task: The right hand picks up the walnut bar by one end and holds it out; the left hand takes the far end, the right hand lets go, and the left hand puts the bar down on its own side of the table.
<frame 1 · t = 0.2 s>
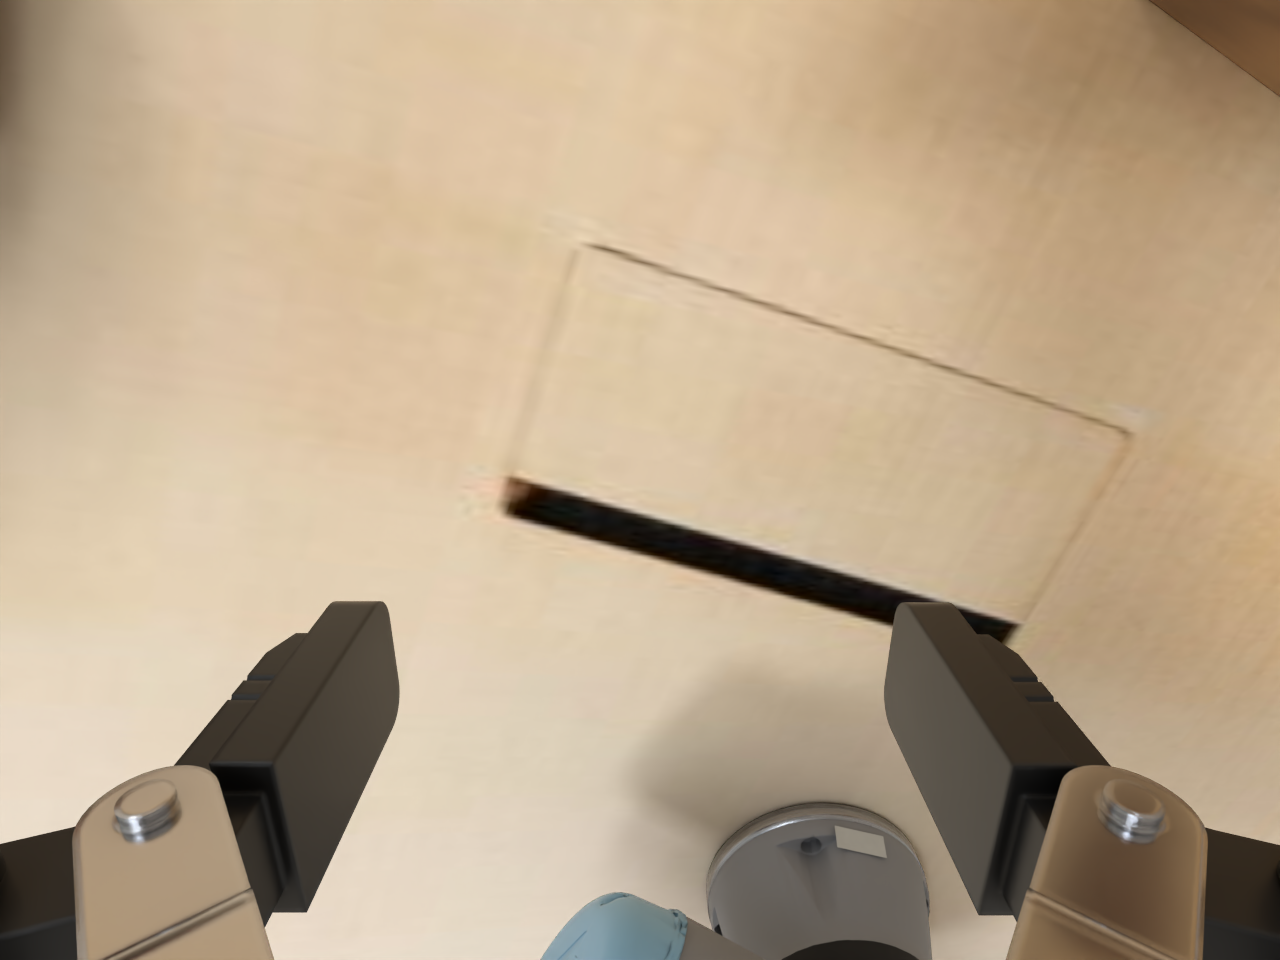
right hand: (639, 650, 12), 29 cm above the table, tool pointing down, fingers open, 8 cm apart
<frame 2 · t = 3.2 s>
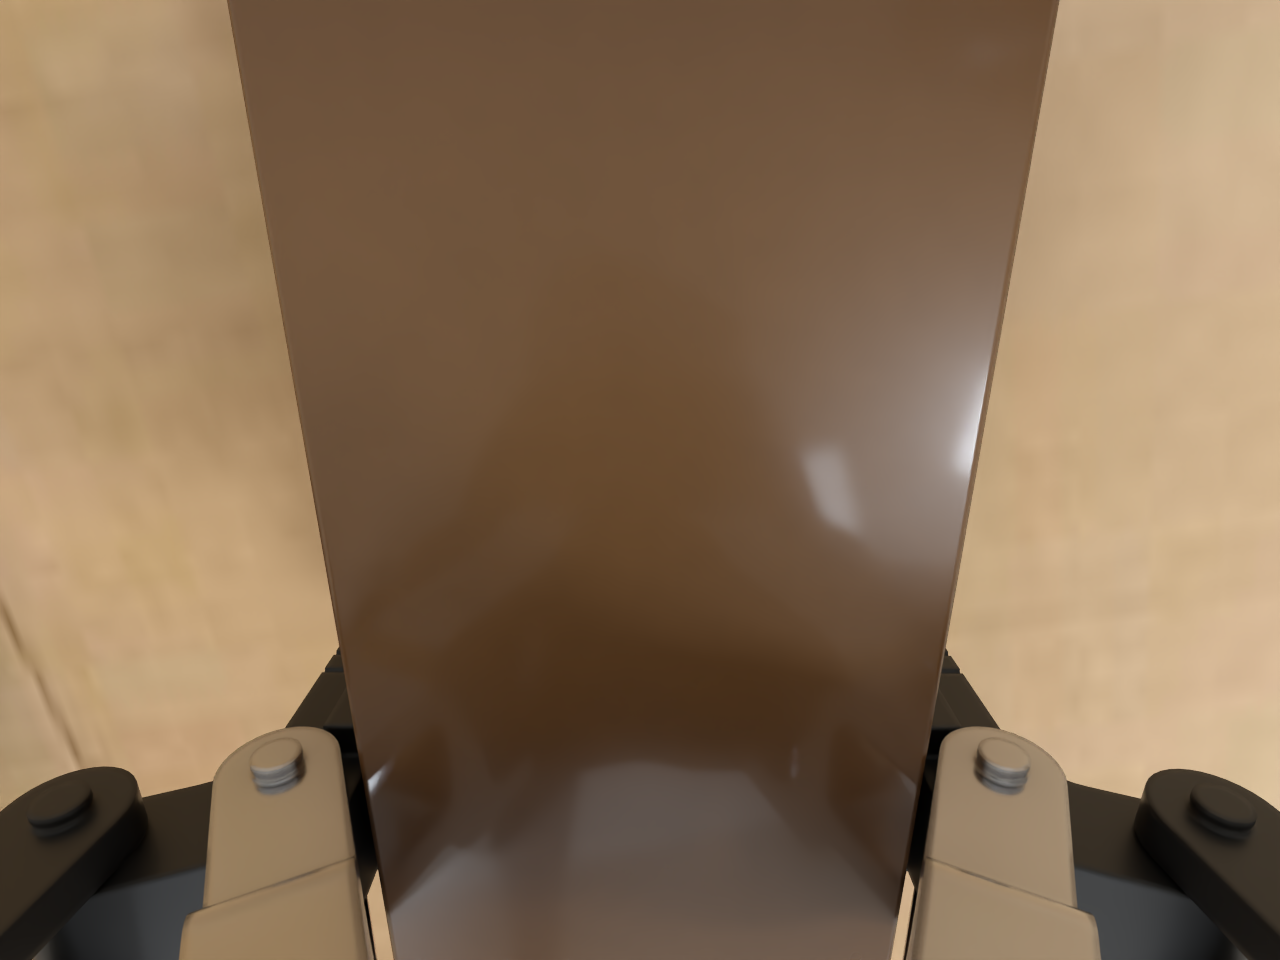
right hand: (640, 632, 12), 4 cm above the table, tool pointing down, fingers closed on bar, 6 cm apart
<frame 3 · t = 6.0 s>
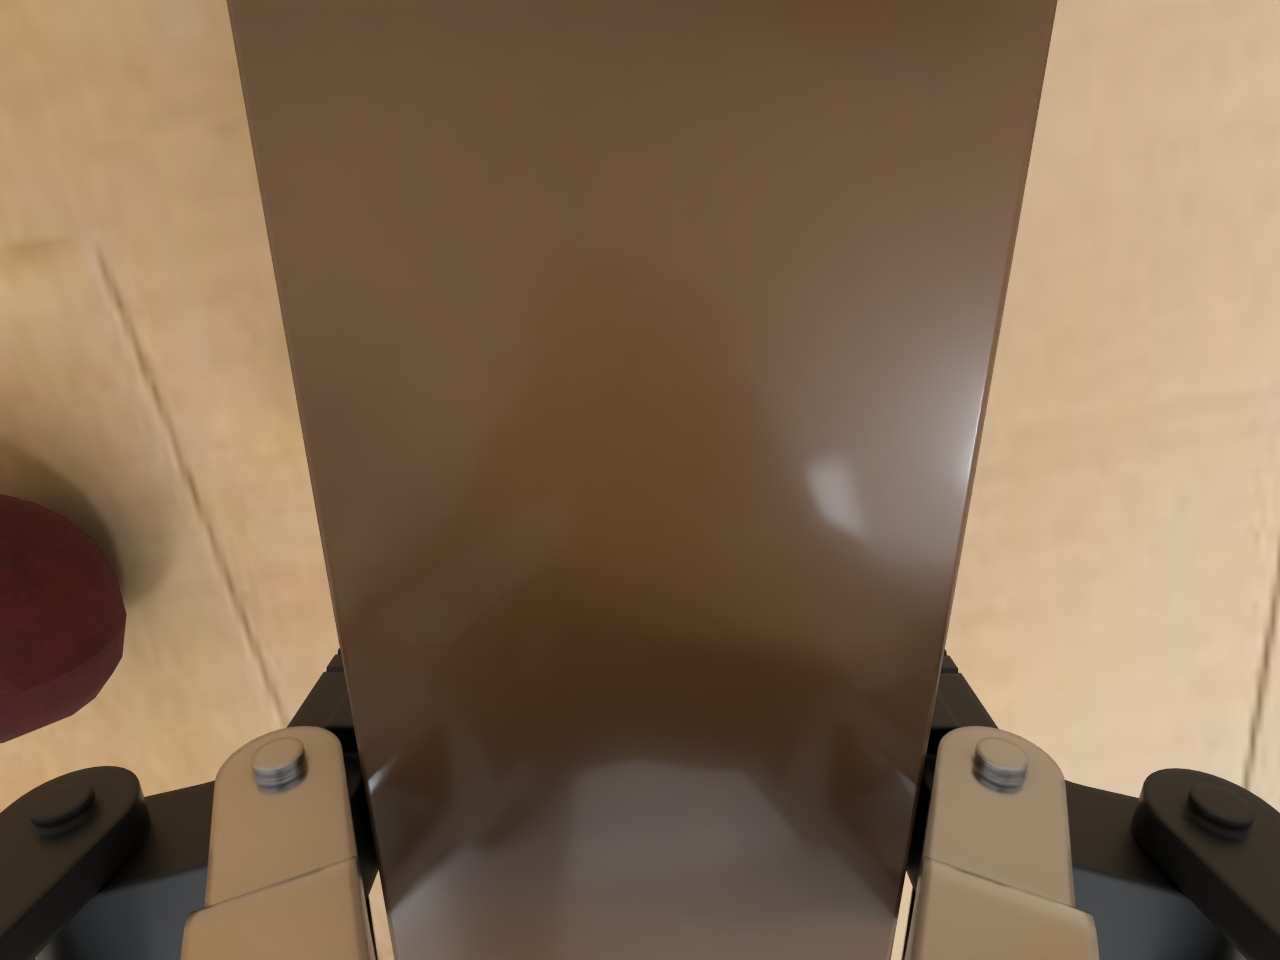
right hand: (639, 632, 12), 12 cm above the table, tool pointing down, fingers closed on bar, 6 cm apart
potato: (66, 563, 25), on the table
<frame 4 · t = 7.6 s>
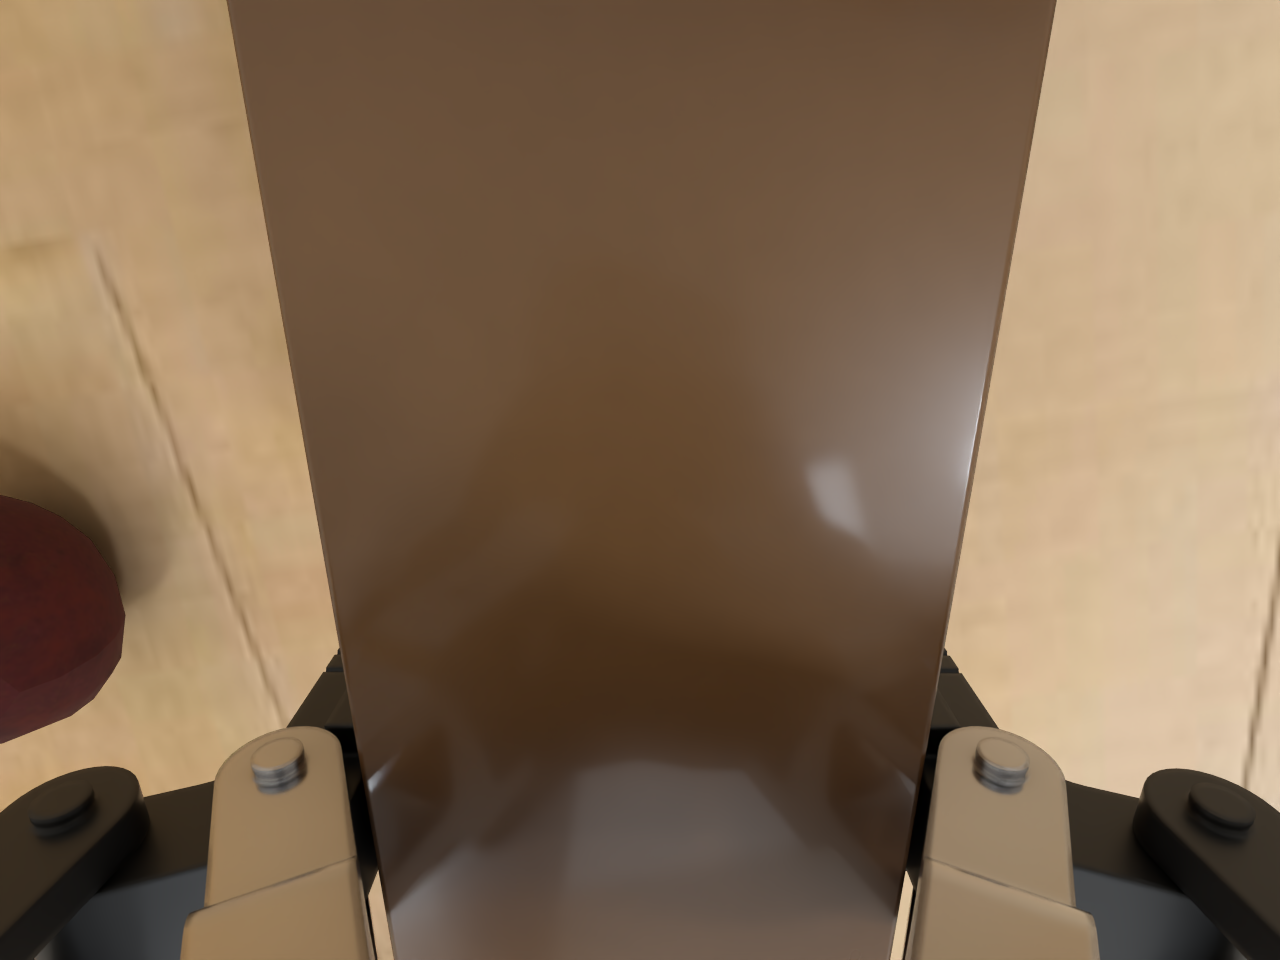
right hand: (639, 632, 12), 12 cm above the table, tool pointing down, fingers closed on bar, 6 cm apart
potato: (65, 563, 25), on the table
when the right hand's fingers open (12 cm above the table, at t = 8.6 s): bar moves 1 cm, held by the left hand.
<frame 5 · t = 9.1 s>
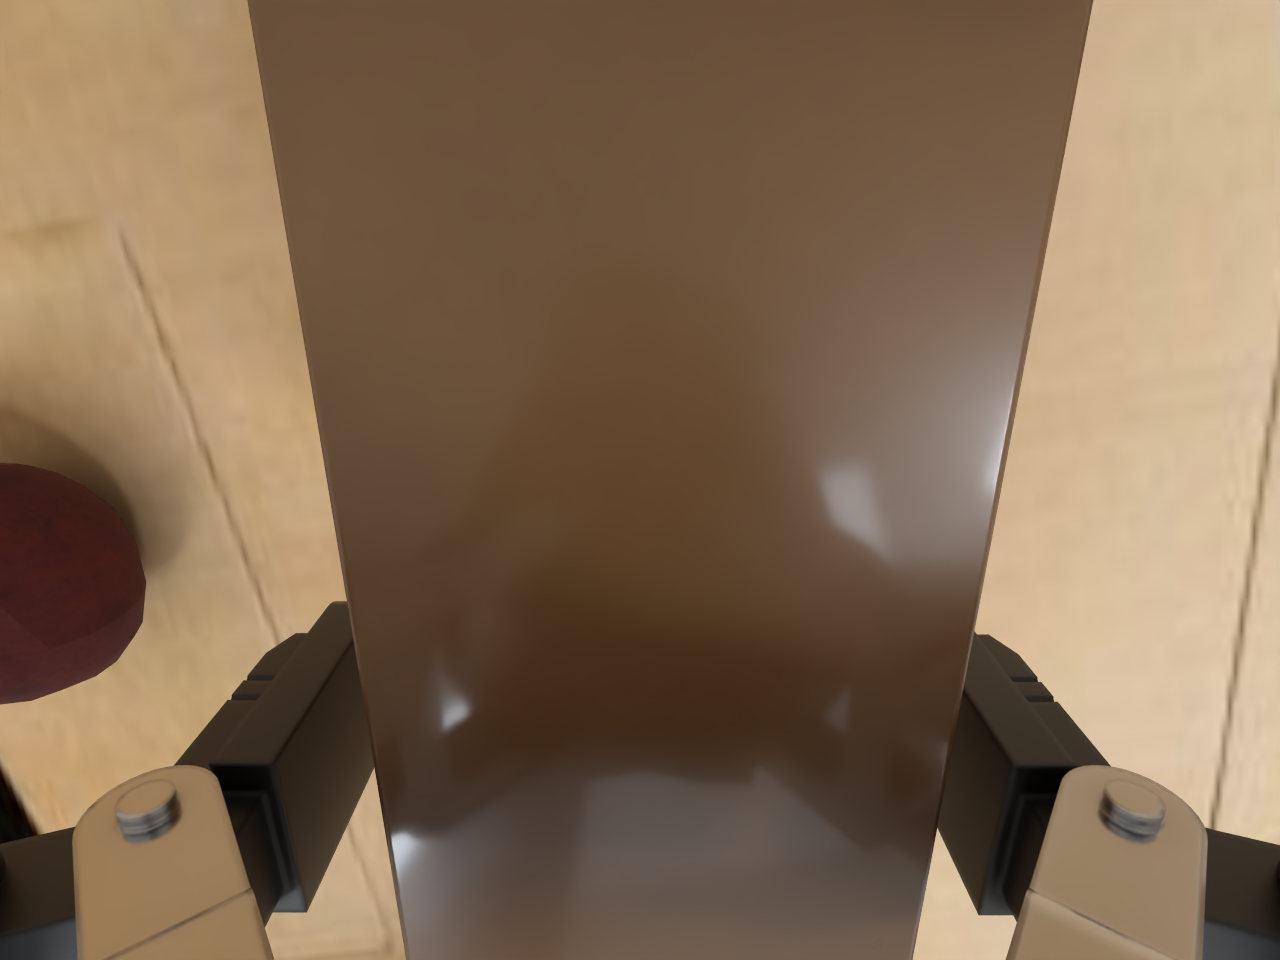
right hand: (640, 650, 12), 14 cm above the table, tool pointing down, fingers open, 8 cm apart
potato: (87, 534, 26), on the table
when the left hand's fingers open (2 cm above the table, at t = 16.4 s): bar drops 2 cm, on the table.
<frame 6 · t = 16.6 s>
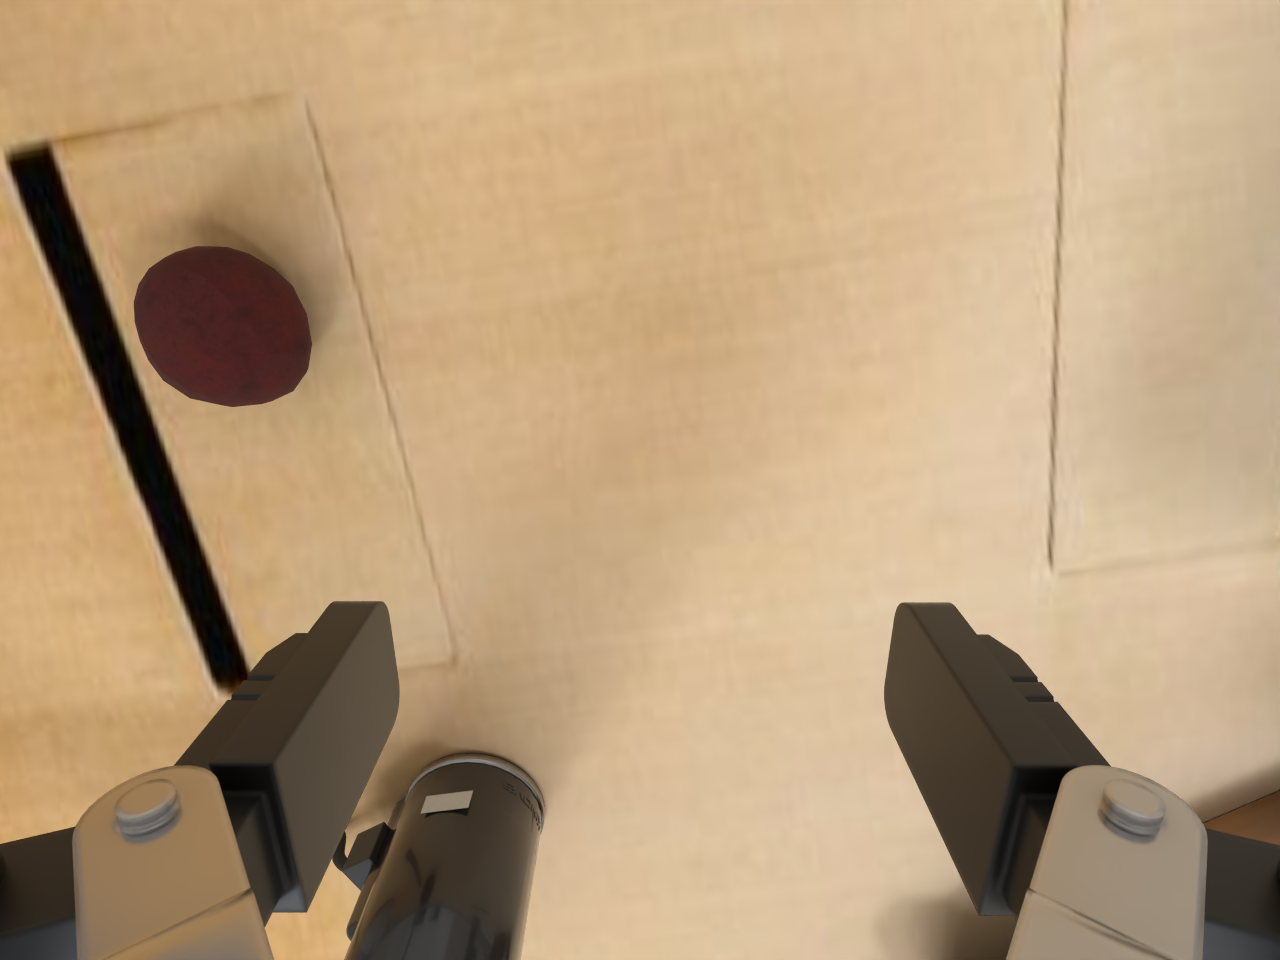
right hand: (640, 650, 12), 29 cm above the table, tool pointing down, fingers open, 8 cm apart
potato: (264, 318, 38), on the table
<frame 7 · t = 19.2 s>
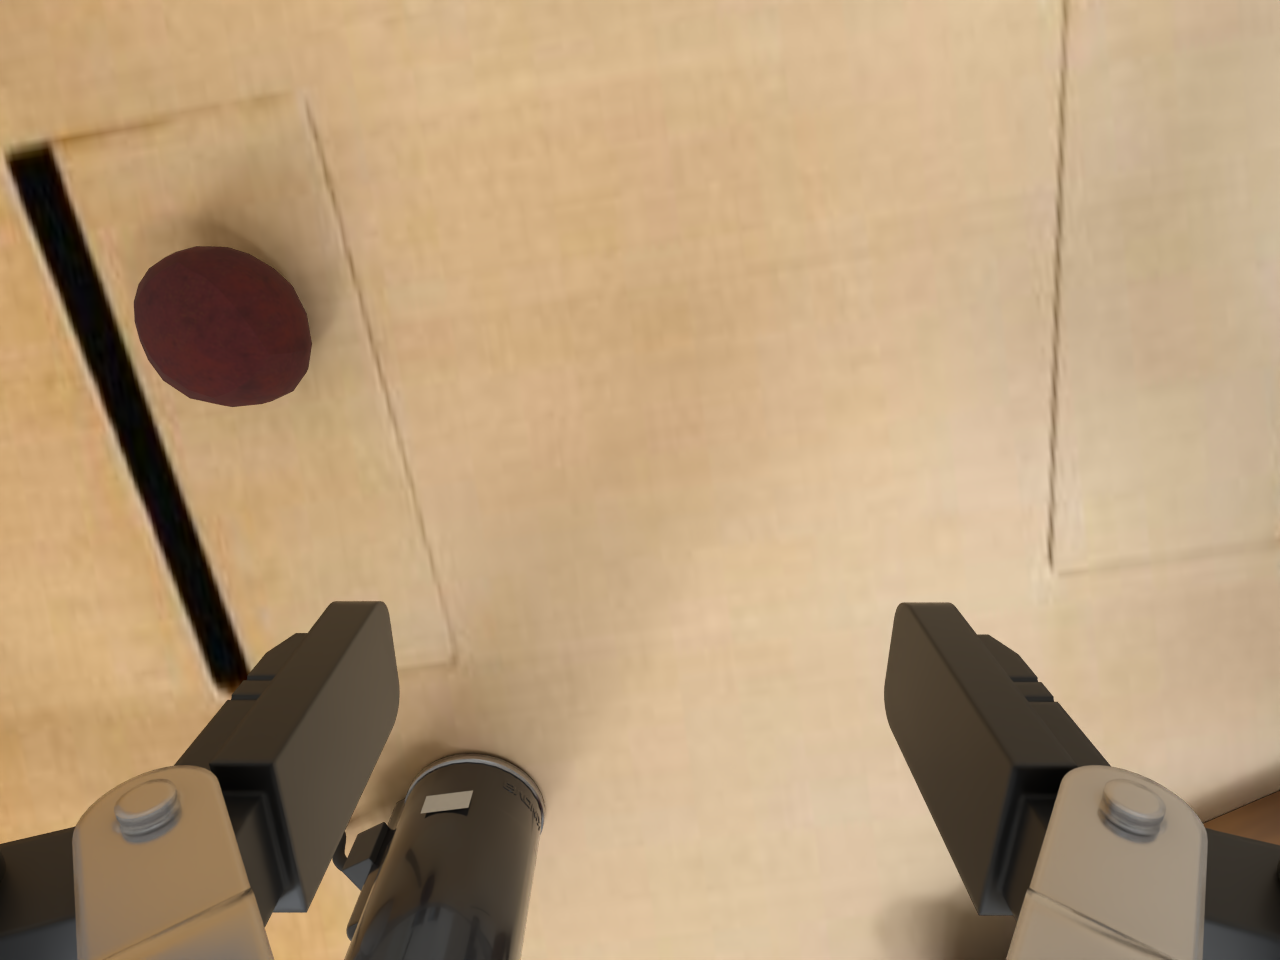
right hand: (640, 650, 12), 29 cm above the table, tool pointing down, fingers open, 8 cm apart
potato: (264, 318, 38), on the table
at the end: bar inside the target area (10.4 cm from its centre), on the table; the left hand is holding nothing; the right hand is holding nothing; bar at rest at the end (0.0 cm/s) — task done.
